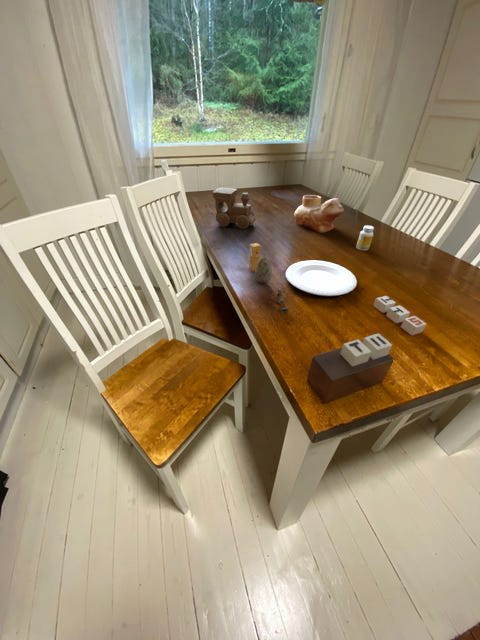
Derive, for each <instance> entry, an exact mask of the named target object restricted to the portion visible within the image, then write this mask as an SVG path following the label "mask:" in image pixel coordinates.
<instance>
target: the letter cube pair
mask: <svg viewBox="0 0 480 640" xmlns="http://www.w3.org/2000/svg"><path fill="white" fill-rule="evenodd" d="M396 303H397V302H396V301H394V300H393V298H391V297H389V296H387V295H383V296H379V297H376V298H375V300H374V303H373V304H372V306H373V307H374V308H375V309H377V310H378V312H381V314H383V313H386V317H387V318H388V319H390V321H392V322H393V323H394V324H399V323H403V321H404V319H406V318H409V317H410V314H411V312H410V311H409V310H407V309H406V308H405V307H403V306H402V305H400V304H399V305H396Z"/></svg>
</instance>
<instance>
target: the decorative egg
mask: <svg viewBox="0 0 480 640" xmlns="http://www.w3.org/2000/svg"><path fill="white" fill-rule="evenodd" d="M272 276H273V266H272V262H271V260H270V259H269V257H267V256H262V257H260V260H259V261H258V263H257V266H256V269H255V271H254V277H255V279H256V281H257V282H258V283H259V284H267V283H269V282H270V280H271V279H272Z"/></svg>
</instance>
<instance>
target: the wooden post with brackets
mask: <svg viewBox="0 0 480 640" xmlns="http://www.w3.org/2000/svg"><path fill="white" fill-rule="evenodd" d="M275 298H276V299H277V300H276V301H277V304H278V305H280V306H281V310H280V312H281V313H286V312H288V309H289V308H288V307H286V304H285V302H284V301H285V300H284V296H283V292H282V288H277V294H276V297H275Z"/></svg>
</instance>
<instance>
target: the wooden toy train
mask: <svg viewBox="0 0 480 640" xmlns="http://www.w3.org/2000/svg"><path fill="white" fill-rule="evenodd" d="M237 196H238V189H237V188H234V187H217V188H216V189H214V190H213V191H212V198H213V199H214V204H215V211H216V214H215V221H216V222H217V223H218V225H219V226H220V227H224V228H226V227H228V226H229V225H230V223H231V224H235V225H236V226H237V227H238V228H239V229H241V230H246V229H247V228H249V227H250V226H253V224H254V223H255V222H256V219H257V218H256V217H255V213H254V212H253V211H252V204H248V203H249V201H250V199H251V197H250V194H249V193H248V192H242V194H241V195H240V201H241V202H236V197H237ZM225 204H226V205H225Z"/></svg>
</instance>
